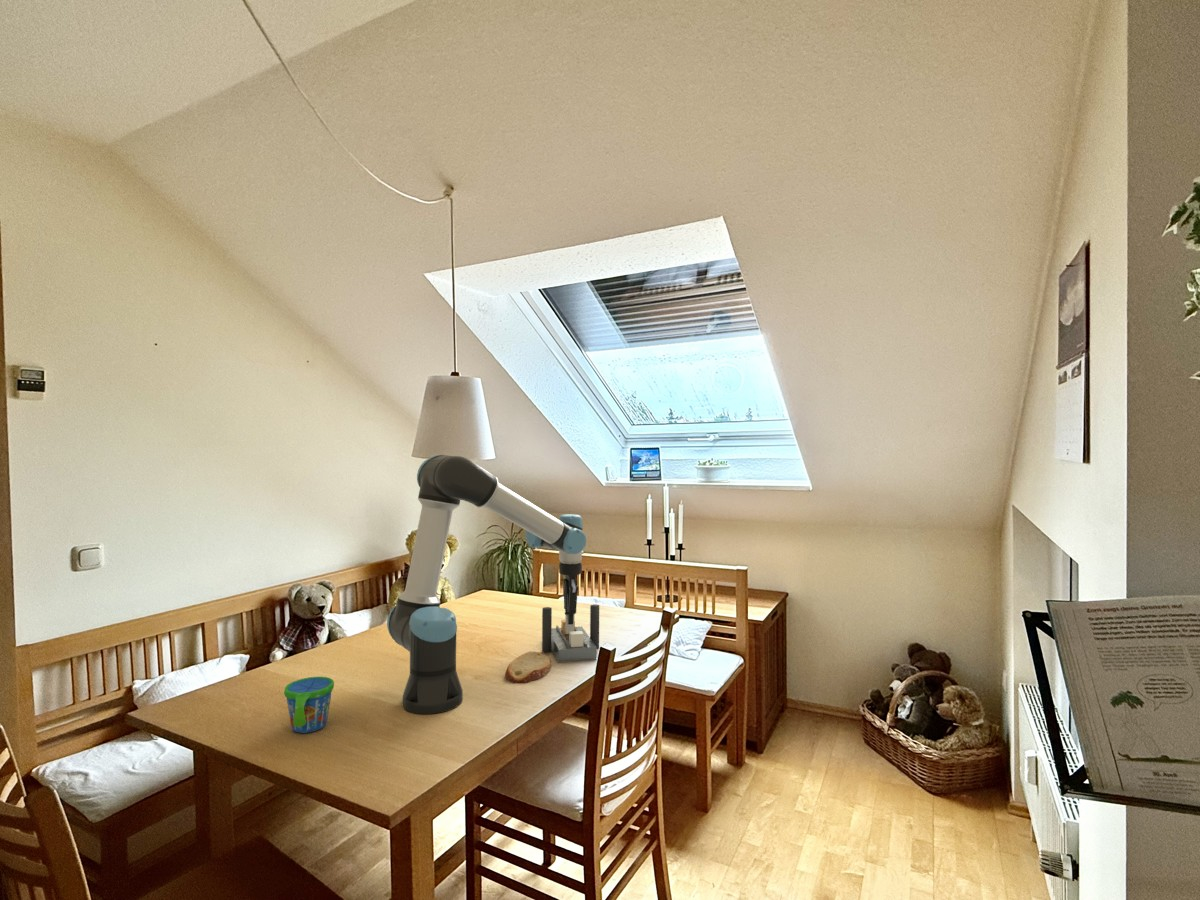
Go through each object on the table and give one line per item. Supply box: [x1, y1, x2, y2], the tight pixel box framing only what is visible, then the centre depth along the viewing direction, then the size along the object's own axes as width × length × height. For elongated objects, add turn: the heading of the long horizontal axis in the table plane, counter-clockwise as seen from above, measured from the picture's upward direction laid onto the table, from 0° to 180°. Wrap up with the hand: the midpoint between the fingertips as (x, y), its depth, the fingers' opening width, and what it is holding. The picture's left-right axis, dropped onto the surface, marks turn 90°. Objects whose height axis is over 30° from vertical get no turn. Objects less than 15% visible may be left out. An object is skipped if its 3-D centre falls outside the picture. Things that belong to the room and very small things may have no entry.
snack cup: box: [283, 676, 335, 734], centre depth 144 cm, size 16×10×10 cm
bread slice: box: [504, 650, 552, 684], centre depth 182 cm, size 18×18×4 cm
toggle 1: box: [560, 619, 576, 634], centre depth 205 cm, size 3×4×4 cm
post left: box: [541, 606, 553, 654], centre depth 198 cm, size 3×3×14 cm
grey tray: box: [551, 625, 598, 663], centre depth 200 cm, size 22×12×5 cm, turn 14°
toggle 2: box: [569, 631, 584, 647], centre depth 192 cm, size 3×4×4 cm
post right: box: [589, 604, 600, 650], centre depth 202 cm, size 3×3×14 cm
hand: (569, 633), depth 201 cm, fingers closed
